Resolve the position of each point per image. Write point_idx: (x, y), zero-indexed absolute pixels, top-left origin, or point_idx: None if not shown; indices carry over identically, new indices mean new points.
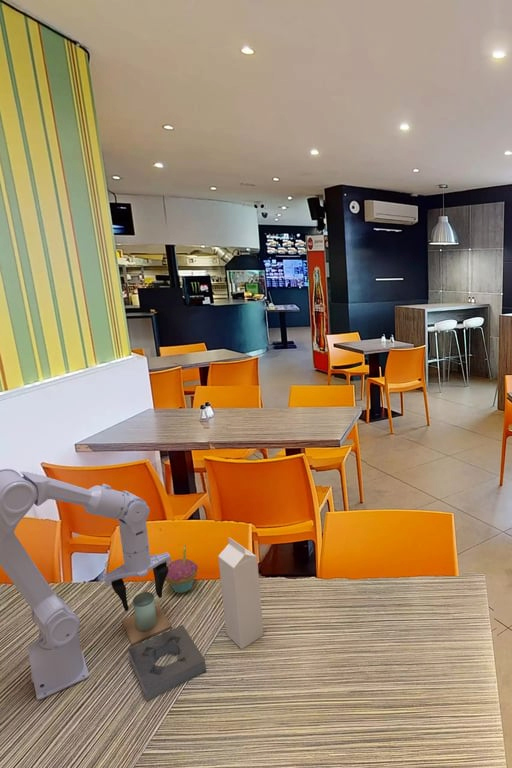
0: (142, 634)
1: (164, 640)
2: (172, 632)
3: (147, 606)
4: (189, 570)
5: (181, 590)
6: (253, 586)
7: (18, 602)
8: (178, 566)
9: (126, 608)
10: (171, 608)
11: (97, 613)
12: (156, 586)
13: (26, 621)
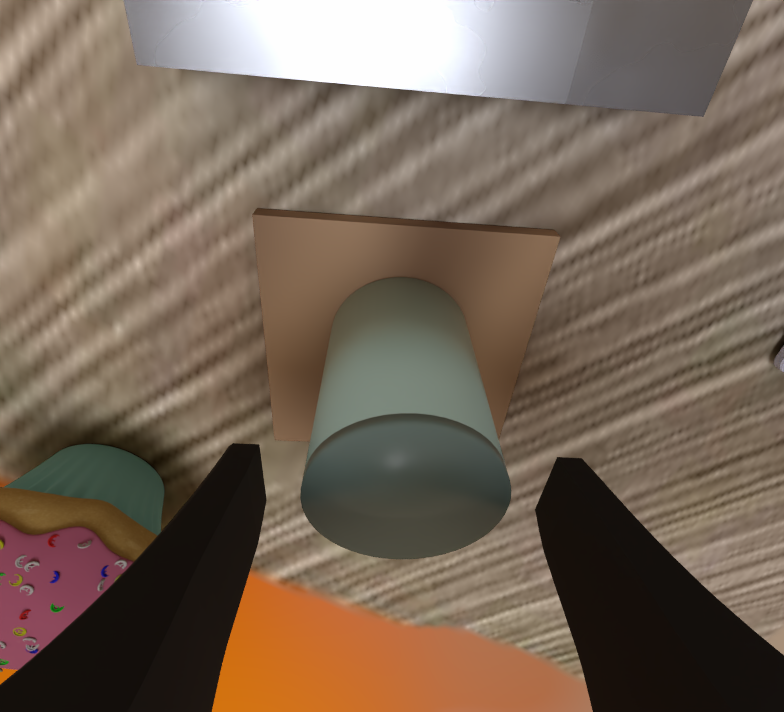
0: (462, 271)
1: None
2: (268, 15)
3: (408, 401)
4: None
5: (112, 460)
6: None
7: None
8: (16, 635)
9: (588, 477)
10: (211, 378)
11: None
12: (238, 565)
13: (741, 609)
